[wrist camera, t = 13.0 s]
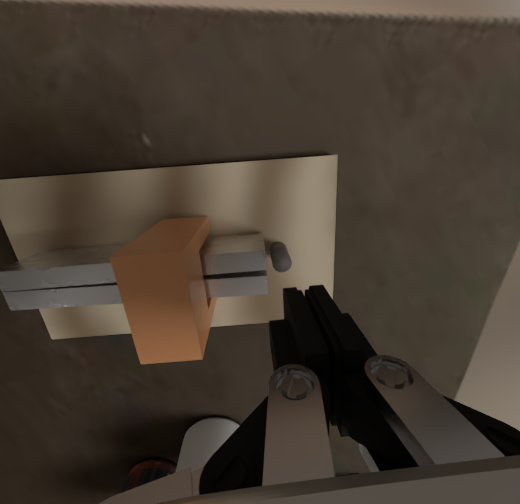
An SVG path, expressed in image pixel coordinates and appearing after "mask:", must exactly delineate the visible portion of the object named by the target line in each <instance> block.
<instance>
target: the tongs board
mask: <svg viewBox="0 0 520 504" xmlns="http://www.w3.org/2000/svg"><path fill="white" fill-rule="evenodd" d="M337 156H338V155H326V156H313V157H299V158H286V159H272V160H259V161H245V162H232V163H218V164H204V165H191V166H177V167H164V168H150V169H137V170H123V171H110V172H96V173H83V174H69V175H56V176H42V177H29V178H15V179H2V180H0V219H1V222H2V224H3V226H4V229H5V231H6V233H7V236H8V238H9V240H10V243H11V245H12V247H13V250H14V252H15V254H16V257H17V259H18V261H20V260H22V259H24V258H26V257H29V256H31V255H33V254H35V253H38V252H40V251H49V250H61V249H74V248H86V247H98V246H110V245H123V244H129V243H130V242H132V241H133V240H134V239H136V238H137V237H139V236H140V235H142V234H143V233H144V232H146V231H147V230H149V229H150V228H151V227H153V226H154V225H156V224H157V223H159V222H160V221H161V220H164V219H177V218H190V217H204V216H208V218H209V225H210V232H209V234H208V236H207V238H208V237H221V236H233V235H245V234H257V233H263V238H264V245H265V252H266V266H267V270H266V271H267V284H268V294H266V295H250V296H234V297H218V298H217V301H216V305H215V309H214V313H213V317H212V321H211V326H210V327H216V326H229V325H241V324H254V323H267V322H269V321H271V320H281V319H284V307H283V288H291V287H296V288H297V290H302V292H303V294H304V296H305V290H306V289H309V286H312V285H324V287H325V288H326V290H327V292H328V293H329V295H330V296H331V298H332V299H333V275H334V246H335V216H336V186H337ZM39 310H40V313H41V315H42V317H43V320H44V322H45V324H46V327H47V329H48V331H49V334H50V336H51V338H52V339H63V338H75V337H88V336H101V335H114V334H127V333H131V330H130V326H129V323H128V319H127V316H126V313H125V309H124V306H123V304H107V305H91V306H75V307H59V308H43V309H39Z"/></svg>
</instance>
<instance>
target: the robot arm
mask: <svg viewBox="0 0 520 504" xmlns="http://www.w3.org/2000/svg"><path fill="white" fill-rule="evenodd" d="M283 307H284V319H281V320H271V321H269V332H270V345H271V354H272V361H273V368H274V372H273V374H272V375H271V377H270V381H269V391H268V396H267V397H266V398H265V399H264V400H263V402H262V403H261V404H260V405H259V406H258V407H257V408H256V409H255V410H254V411H253V412H252V413H251V414H250V415H249V417H248V418H247V419H246V420H245V421H244V422H243V423H242V424H241V425H240V426H239V427H238V428H237V429H236V430H235V431H234V433H233V434H232V435H231V436H230V437H229V438H228V439H227V440H226V441H225V442H224V443H223V444H222V445H221V446H220V448H219V449H218V450H217V451H216V452H215V453H214V454H213V455H212V456H211V457H210V459H209V460H208V461H207V463H206V464H205V466H204V467H202V468H200V469H197V470H194V471H192V472H191V468H190V467H189V468H187V469H184V470H181V471H179V472H176V473H173V474H171V475H168V476H165V477H163V478H160V479H157V480H155V481H152V482H149V483H147V484H144V485H141V486H139V487H136V488H133V489H131V490H128V491H125V492H123V493H120V494H117V495H115V496H112V497H110V498H108V499H107V500H105V501H103V502H101V503H100V504H520V431H518V430H517V429H515V428H513V427H511V426H510V425H508V424H506V423H504V422H502V421H499V420H497V419H495V418H492V417H490V416H488V415H486V414H483V413H481V412H479V411H477V410H474V409H472V408H470V407H467V406H465V405H463V404H461V403H459V402H456V401H454V400H452V399H450V398H447V397H445V396H443V395H441V394H440V393H439V392H438V391H437V390H436V389H435V388H434V387H433V386H432V385H431V384H430V383H429V382H428V381H427V380H425V379H424V378H423V377H422V376H421V375H420V374H419V373H418V372H417V371H416V370H415V369H414V368H413V367H412V366H410V365H409V364H408V363H407V362H405V361H403V360H401V359H399V358H396V357H393V356H388V355H377V354H376V352H375V351H374V349H373V348H372V346H371V345H370V344H369V342H368V341H367V339H366V338H365V336H364V335H363V333H362V332H361V331H360V329H359V328H358V326H357V325H356V323H355V322H354V320H353V319H352V318H351V316H350V315H349V314H348V313H343V314H342V313H341V312H340V310H339V309H338V307H337V305H336V304H335V302H334V301H333V299H332V298H331V296H330V295H329V293H328V292H327V290H326V288H325V287H324V285H312V286H309V289H306V290H305V296H304V294H303V292H302V290H297V288H296V287H291V288H283ZM329 420H330V422H331V424H332V426H336V425H337V427H338V429H339V432H340V435H341V437H344V436H349V437H351V438H352V439H354V440H355V441H357V442H358V445H359V449H360V452H361V454H362V456H363V458H364V460H365V462H366V464H367V465H368V467H369V469H370V471H371V472H370V473H362V474H353V475H346V476H338V477H335V475H334V469H333V462H332V456H331V450H330V444H329Z"/></svg>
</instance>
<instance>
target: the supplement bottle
mask: <svg viewBox="0 0 520 504" xmlns="http://www.w3.org/2000/svg"><path fill="white" fill-rule="evenodd" d="M176 468H177V466H176V465H174V464H173V463H170V462H168V461H164V460H148V461H143V462H141V463H139V464H137V465H135V466H134V467H133V468H132V469H131V470H130V472H129V474H128V476H127V479H126V481H125V483H124V486H123V488H122V491H121V493H123V492H125V491H128V490H131V489H133V488H136V487H139V486H141V485H144V484H147V483H149V482H152V481H155V480H157V479H160V478H163V477H165V476H168V475H171V474H173V473H175V472H176Z"/></svg>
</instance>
